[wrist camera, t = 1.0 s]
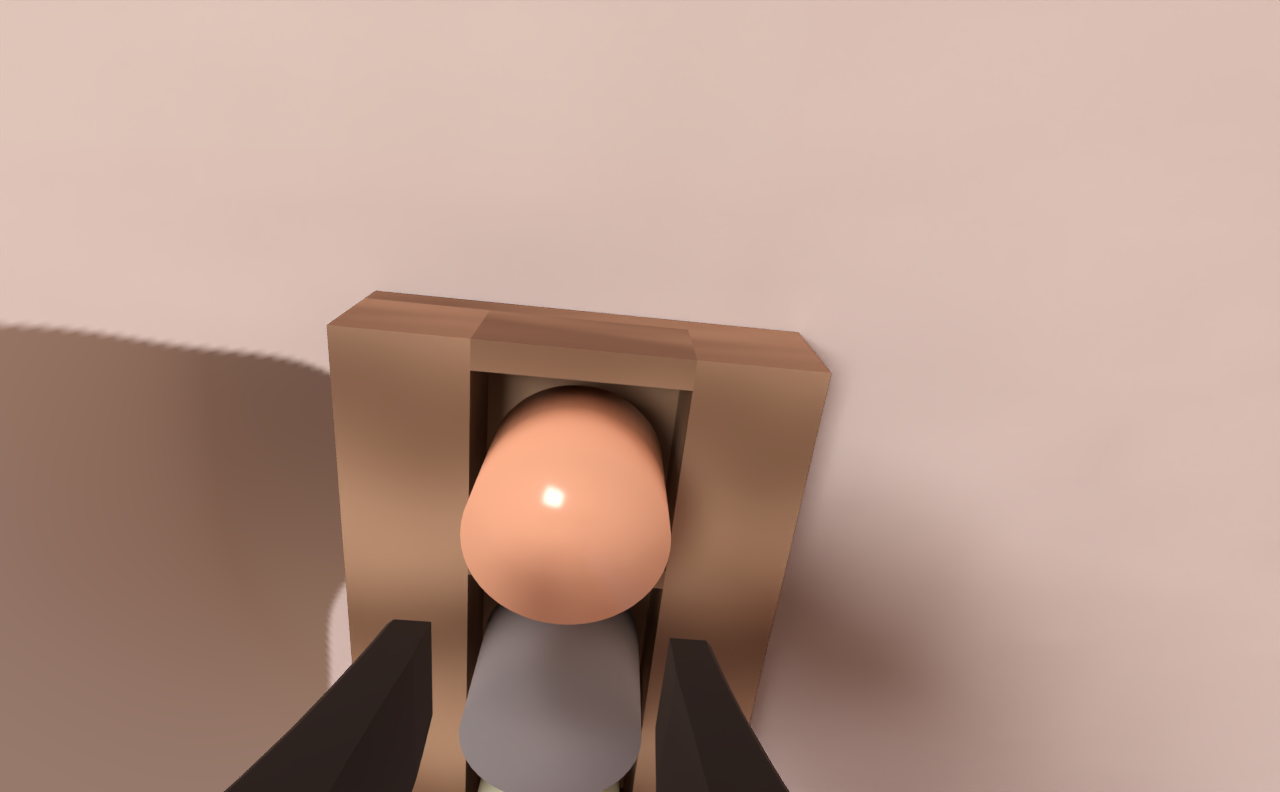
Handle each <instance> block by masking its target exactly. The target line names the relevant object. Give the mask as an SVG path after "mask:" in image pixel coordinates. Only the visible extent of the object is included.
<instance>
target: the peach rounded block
mask: <svg viewBox="0 0 1280 792" xmlns="http://www.w3.org/2000/svg"><path fill="white" fill-rule="evenodd" d="M460 540H461V548H462V552H463V557H464V559H465V562H466V564H467V567H468V569H469V570H470V572H471V574H472V576H473V577H474V579H475V580H476V581H477V583H478V584H479V585H480V587H481V588H482V589H483V590H484V591H485V592H486V593H487V594H488V595H489V596H490V597H491V598H493V599H494V600H495V601H497V602H498V603H499V604H501V605H502V606H504V607H506V608H507V609H509V610H510V611H513V612H515V613H517V614H519V615H521V616H524V617H527V618H530V619H533V620H536V621H541V622H545V623H552V624H563V625H575V624H586V623H591V622H596V621H600V620H603V619H607V618H610V617H612V616H615V615H617V614H619V613H622V612H623V611H625V610H627V609H629V608H630V607H632V606H633V605H635V604H636V603H637V602H639V601H640V600H641V599H643V598H644V597H645V596H646V595H647V594H648V593H649V592H650V591H651V589H652V588H653V587H654V586H655V584H656V583H657V582H658V580H659V578H660V577H661V575H662V573H663V572H664V569H665V567H666V564H667V562H668V558H669V553H670V548H671V530H670V521H669V512H668V503H667V495H666V486H665V477H664V469H663V460H662V452H661V448H660V443H659V440H658V438H657V435H656V433H655V431H654V429H653V428H652V426H651V424H650V423H649V421H648V420H647V419H646V417H645V416H644V415H643V414H642V413H641V412H640V411H639V410H638V409H637V408H636V407H635V406H633V405H632V404H631V403H629V402H628V401H627V400H625V399H623V398H622V397H620V396H618V395H616V394H614V393H611V392H609V391H607V390H603V389H600V388H596V387H591V386H584V385H565V386H557V387H553V388H548V389H545V390H542V391H539V392H537V393H535V394H533V395H531V396H529V397H527V398H525V399H524V400H522V401H521V402H520V403H518V404H517V405H516V406H515V407H514V408H512V409H511V410H510V411H509V412H508V414H507V415H506V416H505V417H504V418H503V420H502V421H501V423H500V425H499V426H498V428H497V430H496V433H495V435H494V437H493V440H492V442H491V445H490V447H489V450H488V452H487V455H486V457H485V460H484V462H483V464H482V467H481V469H480V472H479V474H478V477H477V479H476V482H475V484H474V487H473V489H472V492H471V494H470V497H469V499H468V502H467V504H466V507H465V509H464V512H463V516H462V520H461V528H460Z"/></svg>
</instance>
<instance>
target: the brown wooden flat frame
mask: <svg viewBox="0 0 1280 792" xmlns="http://www.w3.org/2000/svg"><path fill="white" fill-rule="evenodd" d="M327 336H328V349H329V362H330V376H331V389H332V401H333V416H334V428H335V442H336V456H337V469H338V481H339V494H340V509H341V522H342V536H343V549H344V562H345V575H346V589H347V602H348V615H349V629H350V642H351V655H352V664H353V663H354V661H355V660H356V659H357V658H358V657H359V656H360V655H361V653H362V652H363V651H364V650H365V649H366V648H367V647H368V645H369V644H370V643H371V642H372V641H373V640H374V639H375V637H376V636H377V635H378V634H379V633H380V631H381V630H382V629H383V628H384V627H385V626H386V624H388V623H389V622H390V621H392V620H393V619H398V620H413V621H427V622H431V635H432V701H433V715H432V719H431V724H430V728H429V732H428V736H427V740H426V744H425V748H424V752H423V756H422V759H421V763H420V767H419V771H418V775H417V778H416V782H415V784H414V787H413V790H412V792H478V788H479V784H480V779H481V777H480V776H479V775H478V774H477V773H476V772H475V771H474V770H473V769H472V768H471V767H470V765H469V763H468V762H467V760H466V759H465V757H464V755H463V752H462V749H461V746H460V741H459V728H460V723H461V719H462V715H463V712H464V708H465V704H466V700H467V697H468V693H469V689H470V685H471V682H472V678H473V674H474V671H475V667H476V663H477V659H478V656H479V652H480V648H481V644H482V641H483V637H484V633H485V630H486V626H487V622H488V619H489V617H490V615H491V612H492V611H493V609H494V608H495V606H496V605H497V604H498V602H497V601H495V600H494V599H493V598H491V597H490V596H489V595H488V594H487V593H486V592H485V591H484V590H483V589H482V588H481V587H480V585H479V584H478V583H477V581H476V580H475V579H474V577H473V576H472V574H471V572H470V570H469V569H468V567H467V564H466V562H465V559H464V557H463V552H462V548H461V540H460V528H461V520H462V516H463V512H464V509H465V507H466V504H467V502H468V499H469V497H470V494H471V492H472V489H473V487H474V484H475V482H476V479H477V477H478V474H479V472H480V469H481V467H482V464H483V462H484V460H485V457H486V455H487V452H488V450H489V447H490V445H491V442H492V440H493V437H494V435H495V433H496V430H497V428H498V426H499V425H500V423H501V421H502V420H503V418H504V417H505V416H506V415H507V414H508V412H509V411H510V410H511V409H512V408H514V407H515V406H516V405H517V404H518V403H520V402H521V401H522V400H524V399H525V398H527V397H529V396H531V395H533V394H535V393H537V392H539V391H542V390H545V389H548V388H553V387H557V386H565V385H584V386H591V387H596V388H600V389H603V390H607V391H609V392H611V393H614V394H616V395H618V396H620V397H622V398H623V399H625V400H627V401H628V402H629V403H631V404H632V405H633V406H635V407H636V408H637V409H638V410H639V411H640V412H641V413H642V414H643V415H644V416H645V417H646V419H647V420H648V421H649V423H650V424H651V426H652V428H653V429H654V431H655V433H656V435H657V438H658V440H659V443H660V448H661V452H662V460H663V469H664V477H665V486H666V495H667V503H668V512H669V521H670V530H671V548H670V553H669V558H668V562H667V564H666V567H665V569H664V572H663V573H662V575H661V577H660V578H659V580H658V582H657V583H656V584H655V586H654V587H653V588H652V589H651V591H650V592H649V593H648V594H647V595H646V596H645V597H644V598H643V599H641V600H640V601H639V602H637V603H636V604H635V605H633V606H632V607H630V608H629V610H630V612H631V613H632V615H633V617H634V619H635V622H636V625H637V629H638V638H639V671H640V705H641V746H640V750H639V754H638V756H637V758H636V761H635V762H634V764H633V765H632V767H631V768H630V770H629V771H628V772H627V773H626V774H625V775H624V776H623V777H622V778H621V779H620V780H619V792H656V760H655V726H656V720H657V714H658V707H659V701H660V695H661V689H662V682H663V676H664V670H665V664H666V657H667V651H668V645H669V639H670V638H678V639H693V640H706V641H707V642H708V643H709V645H710V646H711V647H712V650H713V652H714V654H715V657H716V659H717V661H718V663H719V666H720V668H721V670H722V672H723V674H724V676H725V678H726V680H727V682H728V685H729V687H730V689H731V691H732V693H733V694H734V696H735V698H736V700H737V702H738V704H739V706H740V708H741V710H742V712H743V714H744V716H745V717H746V719H747V721H748V723H750V719H751V715H752V710H753V706H754V702H755V698H756V693H757V689H758V685H759V681H760V676H761V672H762V668H763V663H764V659H765V655H766V651H767V646H768V642H769V638H770V634H771V629H772V625H773V621H774V616H775V612H776V608H777V604H778V599H779V595H780V591H781V586H782V582H783V578H784V574H785V569H786V565H787V561H788V557H789V552H790V548H791V544H792V539H793V535H794V531H795V527H796V522H797V518H798V514H799V510H800V505H801V501H802V497H803V492H804V488H805V484H806V480H807V475H808V471H809V467H810V462H811V458H812V454H813V450H814V445H815V441H816V437H817V433H818V428H819V424H820V420H821V415H822V411H823V407H824V403H825V398H826V394H827V390H828V385H829V381H830V377H831V372H830V371H829V369H828V368H827V367H826V366H825V365H824V363H823V362H822V361H821V360H820V358H819V357H818V356H817V355H816V353H815V352H814V351H813V350H812V349H811V347H810V346H809V345H808V344H807V342H806V341H805V340H804V339H803V338H802V336H801V335H800V334H799V333H798V332H788V331H778V330H767V329H757V328H747V327H737V326H727V325H717V324H707V323H696V322H686V321H676V320H666V319H656V318H646V317H635V316H625V315H615V314H605V313H595V312H585V311H575V310H564V309H554V308H544V307H534V306H524V305H514V304H504V303H493V302H483V301H473V300H463V299H453V298H443V297H432V296H422V295H412V294H402V293H392V292H382V291H375V292H373V293H372V294H370V295H369V296H367V297H366V298H365V299H363V300H362V301H360V302H359V303H357V304H356V305H355V306H353V307H352V308H350V309H349V310H348V311H346V312H345V313H343V314H342V315H340V316H339V317H338V318H336V319H335V320H333V321H332V322H330V323H329V324H328V325H327Z"/></svg>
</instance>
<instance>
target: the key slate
mask: <svg viewBox="0 0 1280 792" xmlns="http://www.w3.org/2000/svg"><path fill="white" fill-rule="evenodd" d="M459 741H460V746H461V749H462V752H463V755H464V757H465V759H466V760H467V762H468V763H469V765H470V767H471V768H472V769H473V770H474V771H475V772H476V773H477V774H478V775H479V776H480V777H481V778H482V779H483V780H485V781H486V782H488V783H489V784H491V785H492V786H494V787H496V788H497V789H499V790H501V791H503V792H601V791H603V790H605V789H606V788H608V787H610V786H612V785H613V784H615V783H616V782H617V781H619V780H620V779H621V778H622V777H623V776H624V775H625V774H626V773H627V772H628V771H629V770H630V768H631V767H632V765H633V764H634V762H635V761H636V758H637V756H638V754H639V750H640V746H641V705H640V671H639V638H638V629H637V625H636V622H635V619H634V617H633V615H632V613H631V612H630V610H629V609H627V610H625V611H623V612H622V613H619V614H617V615H615V616H612V617H610V618H607V619H603V620H600V621H596V622H591V623H586V624H575V625H563V624H552V623H545V622H541V621H536V620H533V619H530V618H527V617H524V616H521V615H519V614H517V613H515V612H513V611H510V610H509V609H507V608H506V607H504V606H502V605H501V604H499V603H498V604H497V605H496V606H495V608H494V609H493V611H492V612H491V615H490V617H489V619H488V622H487V626H486V630H485V633H484V637H483V641H482V644H481V648H480V652H479V656H478V659H477V663H476V667H475V671H474V674H473V678H472V682H471V685H470V689H469V693H468V697H467V700H466V704H465V708H464V712H463V715H462V719H461V723H460V728H459Z"/></svg>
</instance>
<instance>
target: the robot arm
mask: <svg viewBox="0 0 1280 792" xmlns="http://www.w3.org/2000/svg"><path fill="white" fill-rule="evenodd" d="M432 715H433V701H432V635H431V622H427V621H413V620H398V619H393V620H392V621H390V622H389V623H388V624H386V626H385V627H384V628H383V629H382V630H381V631H380V633H379V634H378V635H377V636H376V637H375V639H374V640H373V641H372V642H371V643H370V644H369V645H368V647H367V648H366V649H365V650H364V651H363V652H362V653H361V655H360V656H359V657H358V658H357V659H356V660H355V661H354V663H353V664H352V665H351V666H350V667H349V668H348V669H347V670H346V671H345V672H344V674H343V675H342V676H341V677H340V678H339V679H338V680H337V681H336V682H335V683H334V684H333V686H332V687H331V688H330V689H329V690H328V691H327V692H326V693H325V694H324V695H323V696H322V697H321V698H320V699H319V700H318V701H317V702H316V703H315V704H314V705H313V706H312V707H311V708H310V709H309V711H308V712H307V713H306V714H305V715H304V716H303V717H302V718H301V719H300V720H299V721H298V722H297V723H296V724H295V725H294V726H293V727H292V728H291V729H290V730H289V731H288V732H287V733H286V734H285V735H284V736H283V737H282V738H281V739H280V740H279V741H278V742H277V743H275V744H274V745H273V746H272V747H271V748H270V749H269V750H268V751H267V752H266V753H265V754H264V755H263V756H262V757H261V758H260V759H259V760H258V761H257V762H256V763H255V764H253V765H252V766H251V767H250V768H249V770H247V771H246V772H245V773H244V774H243V775H242V776H241V777H240V778H239V779H238V780H236V781H235V782H234V783H233V784H232V785H231V786H230V787H229V788H228V789H226V790H225V791H224V792H412V790H413V787H414V784H415V782H416V778H417V775H418V771H419V767H420V763H421V759H422V756H423V752H424V748H425V744H426V740H427V736H428V732H429V728H430V724H431V719H432ZM655 760H656V792H789V790H788V789H787V787H786V786H785V784H784V782H783V781H782V779H781V778H780V776H779V774H778V773H777V771H776V769H775V768H774V766H773V765H772V763H771V761H770V760H769V758H768V756H767V754H766V753H765V751H764V749H763V747H762V746H761V744H760V742H759V740H758V739H757V737H756V735H755V734H754V732H753V730H752V728H751V727H750V725H749V723H748V721H747V719H746V717H745V716H744V714H743V712H742V710H741V708H740V706H739V704H738V702H737V700H736V698H735V696H734V694H733V693H732V691H731V689H730V687H729V685H728V682H727V680H726V678H725V676H724V674H723V672H722V670H721V668H720V666H719V663H718V661H717V659H716V657H715V654H714V652H713V650H712V647H711V646H710V645H709V643H708V642H707V641H706V640H693V639H678V638H670V639H669V645H668V651H667V657H666V664H665V670H664V676H663V682H662V689H661V695H660V701H659V707H658V714H657V720H656V726H655Z"/></svg>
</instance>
